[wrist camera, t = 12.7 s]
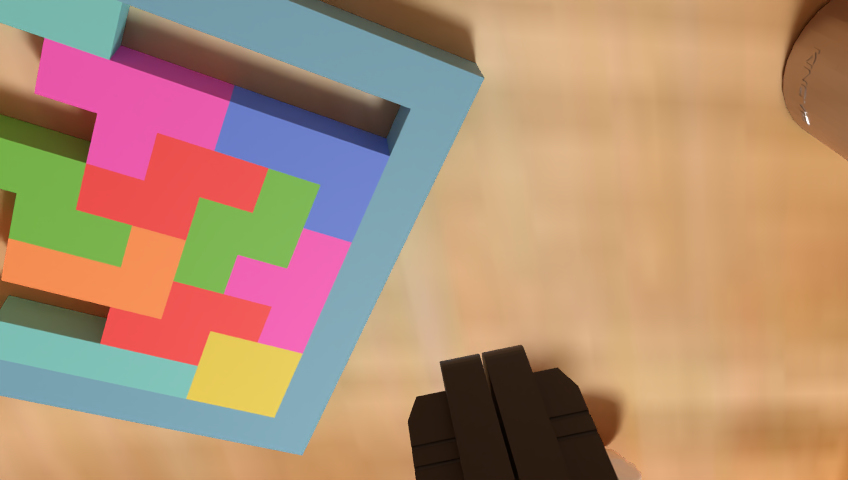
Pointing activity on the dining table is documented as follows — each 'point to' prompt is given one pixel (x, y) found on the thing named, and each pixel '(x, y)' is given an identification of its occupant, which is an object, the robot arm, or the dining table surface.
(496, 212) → the dining table surface
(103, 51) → the tetris game
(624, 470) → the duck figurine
